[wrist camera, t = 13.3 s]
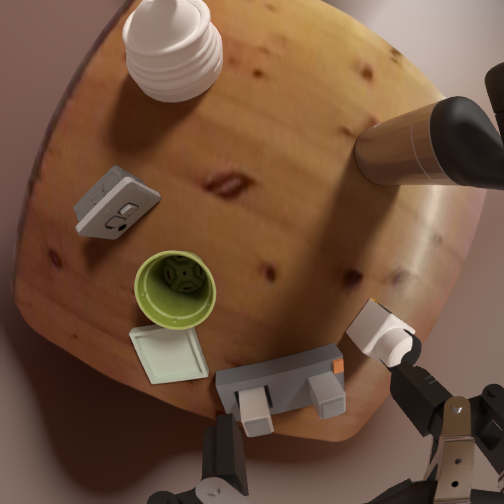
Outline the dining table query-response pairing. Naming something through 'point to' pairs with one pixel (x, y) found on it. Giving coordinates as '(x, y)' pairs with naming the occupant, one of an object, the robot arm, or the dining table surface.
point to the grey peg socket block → (289, 382)
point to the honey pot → (172, 49)
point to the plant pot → (175, 290)
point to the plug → (255, 412)
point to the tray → (169, 353)
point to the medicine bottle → (384, 336)
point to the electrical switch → (113, 204)
